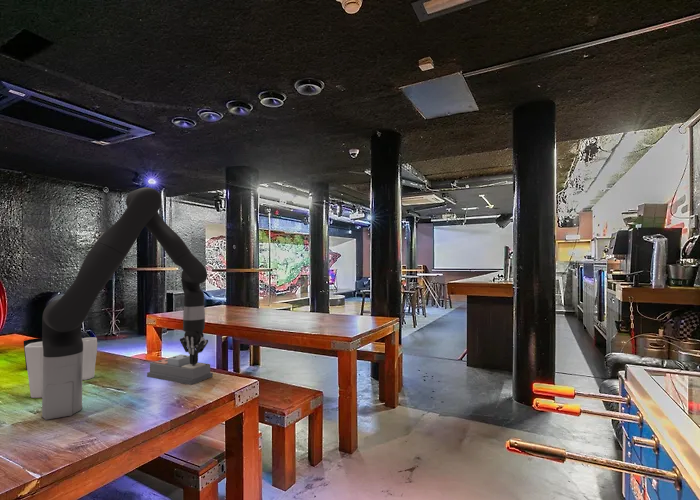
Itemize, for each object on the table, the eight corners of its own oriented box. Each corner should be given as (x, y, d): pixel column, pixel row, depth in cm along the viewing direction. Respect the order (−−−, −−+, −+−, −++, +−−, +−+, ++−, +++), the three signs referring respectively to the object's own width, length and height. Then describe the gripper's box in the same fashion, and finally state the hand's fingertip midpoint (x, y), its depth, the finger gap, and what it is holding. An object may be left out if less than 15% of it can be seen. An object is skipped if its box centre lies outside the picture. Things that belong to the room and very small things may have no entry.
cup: (27, 367, 153) (27, 339, 154) (49, 364, 156) (50, 337, 157) (19, 371, 146) (20, 342, 147) (43, 369, 149) (43, 340, 150)
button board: (212, 376, 137) (212, 363, 137) (191, 384, 128) (191, 370, 128) (169, 369, 147) (169, 357, 147) (147, 376, 138) (147, 363, 138)
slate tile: (191, 365, 139) (191, 355, 139) (178, 369, 134) (178, 359, 134) (180, 363, 142) (181, 354, 142) (167, 367, 136) (167, 357, 136)
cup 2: (58, 386, 128) (59, 338, 128) (71, 391, 122) (72, 341, 123) (17, 396, 118) (19, 344, 119) (29, 402, 113) (31, 348, 113)
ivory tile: (205, 373, 136) (205, 363, 136) (192, 377, 130) (192, 367, 130) (194, 371, 138) (194, 361, 138) (181, 375, 133) (181, 365, 133)
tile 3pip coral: (178, 368, 142) (178, 359, 142) (164, 372, 137) (164, 363, 137) (167, 366, 145) (167, 357, 145) (154, 371, 139) (154, 361, 140)
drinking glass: (101, 375, 140) (101, 337, 140) (86, 381, 133) (87, 341, 134) (85, 375, 140) (85, 337, 141) (70, 381, 134) (70, 340, 134)
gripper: (214, 317, 136) (214, 363, 135) (189, 315, 141) (189, 359, 141) (198, 320, 129) (198, 368, 128) (173, 318, 135) (172, 364, 134)
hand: (193, 363), depth 134 cm, fingers closed
